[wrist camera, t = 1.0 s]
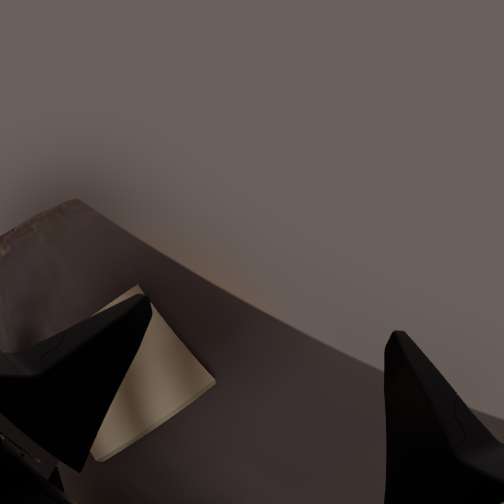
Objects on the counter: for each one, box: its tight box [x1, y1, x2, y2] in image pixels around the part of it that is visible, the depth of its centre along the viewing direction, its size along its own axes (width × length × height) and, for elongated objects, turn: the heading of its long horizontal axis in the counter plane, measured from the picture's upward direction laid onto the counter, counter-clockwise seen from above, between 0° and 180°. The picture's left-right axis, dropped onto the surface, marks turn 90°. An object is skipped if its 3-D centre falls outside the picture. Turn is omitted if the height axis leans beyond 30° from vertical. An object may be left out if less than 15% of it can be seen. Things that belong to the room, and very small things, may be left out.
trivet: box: [90, 284, 216, 462], centre depth 22 cm, size 14×14×1 cm
